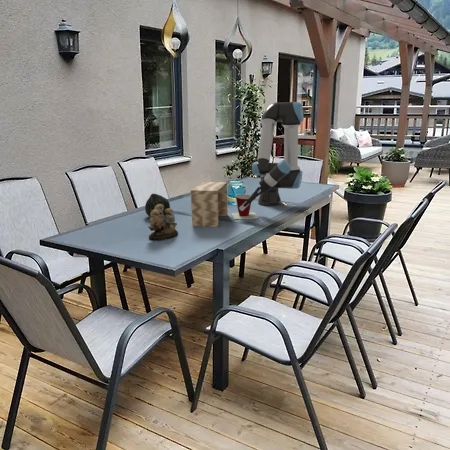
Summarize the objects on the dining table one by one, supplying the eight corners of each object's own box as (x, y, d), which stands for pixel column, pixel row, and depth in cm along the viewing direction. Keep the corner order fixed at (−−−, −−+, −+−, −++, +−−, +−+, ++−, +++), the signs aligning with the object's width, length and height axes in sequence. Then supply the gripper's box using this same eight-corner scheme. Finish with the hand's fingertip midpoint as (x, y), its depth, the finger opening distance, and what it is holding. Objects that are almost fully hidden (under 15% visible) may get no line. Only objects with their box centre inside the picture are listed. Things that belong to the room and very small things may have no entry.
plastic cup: (250, 218, 258) (250, 197, 255) (232, 216, 261) (232, 196, 258) (255, 213, 268) (255, 194, 264) (238, 212, 271) (238, 193, 268)
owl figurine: (159, 243, 218) (156, 209, 213) (142, 239, 225) (139, 206, 220) (183, 233, 232) (181, 201, 227) (167, 230, 239) (164, 199, 234)
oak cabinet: (227, 215, 267) (227, 182, 262) (217, 226, 243) (216, 190, 238) (204, 214, 271) (203, 181, 265) (192, 225, 246) (190, 190, 241)
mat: (253, 212, 272) (253, 211, 272) (258, 218, 259) (258, 217, 259) (231, 213, 270) (231, 213, 270) (234, 219, 257) (234, 218, 257)
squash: (177, 205, 271) (161, 186, 270) (168, 212, 257) (150, 192, 256) (162, 219, 277) (146, 201, 276) (152, 226, 263) (135, 207, 262)
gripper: (266, 174, 268) (242, 197, 275) (260, 181, 244) (233, 207, 252) (275, 183, 268) (250, 206, 275) (269, 191, 244) (243, 216, 252)
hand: (242, 206), depth 263 cm, fingers open, 13 cm apart
